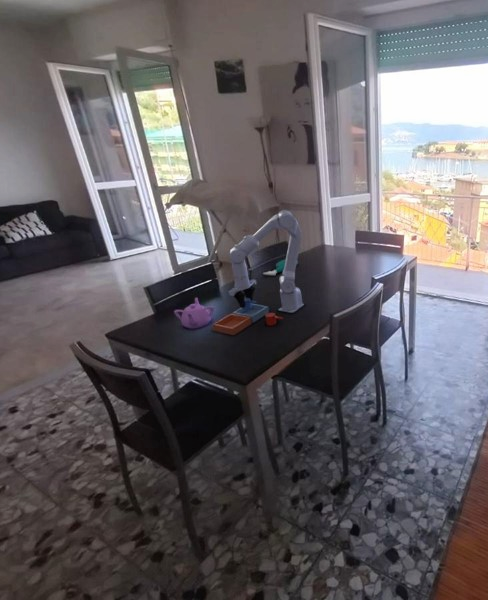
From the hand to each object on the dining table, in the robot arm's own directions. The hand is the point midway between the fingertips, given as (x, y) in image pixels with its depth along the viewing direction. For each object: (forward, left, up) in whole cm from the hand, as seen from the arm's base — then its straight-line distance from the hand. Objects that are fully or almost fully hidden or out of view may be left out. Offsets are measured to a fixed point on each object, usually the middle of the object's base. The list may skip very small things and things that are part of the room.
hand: (246, 304), depth 156 cm
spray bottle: (-56, -23, -5) cm, 61 cm away
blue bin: (0, +2, -5) cm, 5 cm away
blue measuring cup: (0, +2, -1) cm, 2 cm away
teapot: (+14, -15, -5) cm, 21 cm away
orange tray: (+11, +2, -5) cm, 13 cm away
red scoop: (+3, +17, -5) cm, 18 cm away
